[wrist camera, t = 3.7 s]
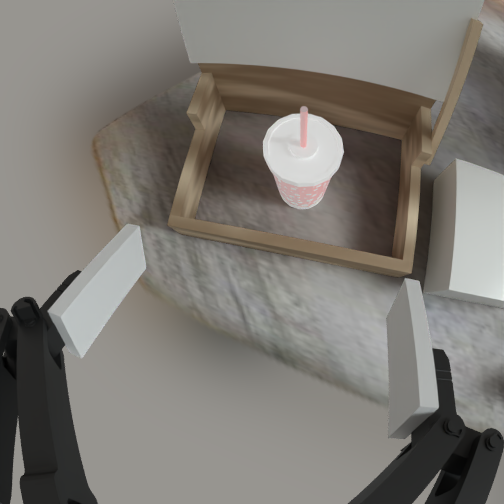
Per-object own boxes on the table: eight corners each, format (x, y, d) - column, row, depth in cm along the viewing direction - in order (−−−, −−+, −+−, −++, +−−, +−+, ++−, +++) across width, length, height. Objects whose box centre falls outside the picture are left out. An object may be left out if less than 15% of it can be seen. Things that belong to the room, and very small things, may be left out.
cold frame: (219, 102, 35) (199, 52, 26) (409, 134, 31) (436, 89, 23) (181, 234, 33) (143, 210, 24) (397, 277, 29) (434, 266, 21)
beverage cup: (276, 156, 33) (262, 69, 19) (334, 164, 32) (354, 79, 18) (266, 212, 32) (246, 146, 18) (328, 221, 31) (351, 159, 17)
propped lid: (213, 64, 31) (153, -92, 11) (427, 98, 28) (499, -54, 7) (191, 125, 30) (92, -40, 10) (428, 166, 27) (546, 13, 6)
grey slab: (433, 180, 30) (456, 158, 24) (515, 207, 28) (543, 191, 22) (422, 292, 29) (448, 289, 23) (509, 309, 27) (541, 308, 21)
